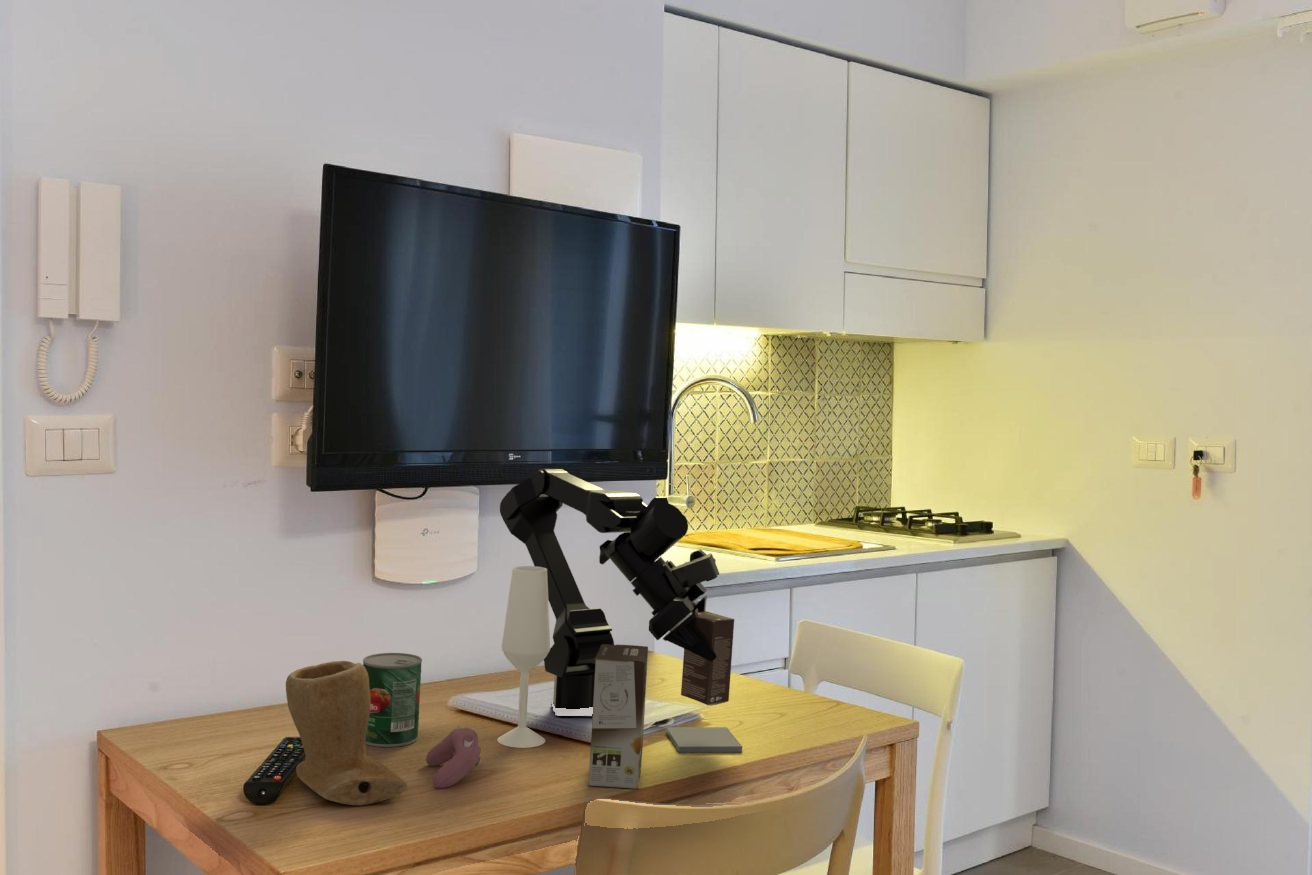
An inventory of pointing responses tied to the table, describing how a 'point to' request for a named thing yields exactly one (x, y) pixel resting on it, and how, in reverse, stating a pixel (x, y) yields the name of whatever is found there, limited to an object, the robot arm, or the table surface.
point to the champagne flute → (526, 641)
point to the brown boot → (338, 734)
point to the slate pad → (703, 739)
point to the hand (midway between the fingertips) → (717, 653)
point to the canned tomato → (393, 699)
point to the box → (703, 675)
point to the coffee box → (618, 716)
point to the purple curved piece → (454, 756)
